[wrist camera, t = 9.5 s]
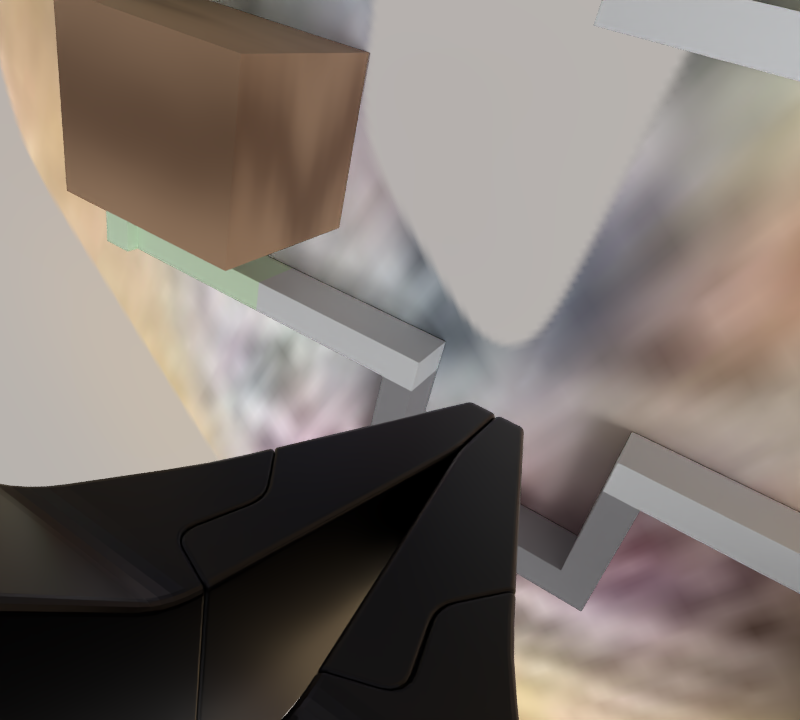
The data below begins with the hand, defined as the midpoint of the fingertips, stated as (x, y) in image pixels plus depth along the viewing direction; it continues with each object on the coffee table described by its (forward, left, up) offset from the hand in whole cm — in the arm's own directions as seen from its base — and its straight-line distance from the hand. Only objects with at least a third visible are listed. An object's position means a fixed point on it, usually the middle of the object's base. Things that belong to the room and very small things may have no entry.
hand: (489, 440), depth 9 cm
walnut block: (0, +14, -12) cm, 18 cm away
